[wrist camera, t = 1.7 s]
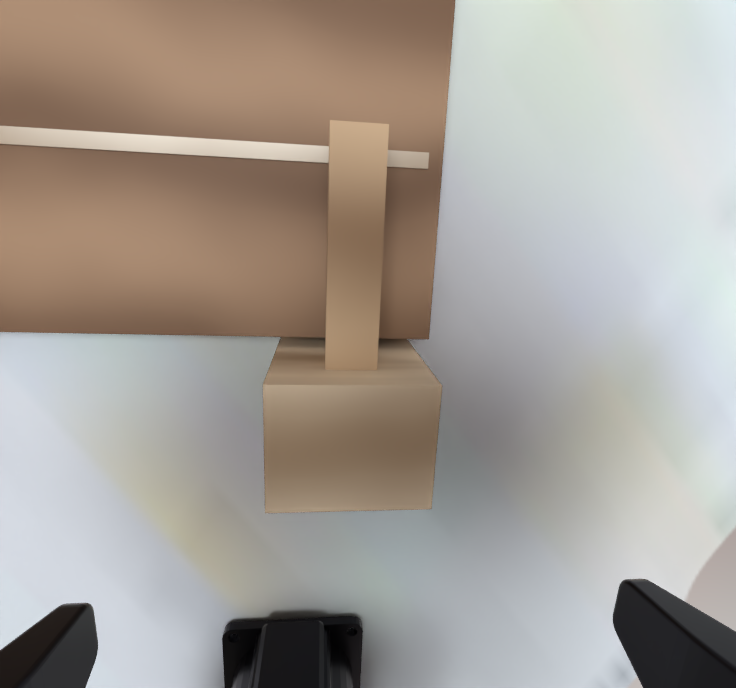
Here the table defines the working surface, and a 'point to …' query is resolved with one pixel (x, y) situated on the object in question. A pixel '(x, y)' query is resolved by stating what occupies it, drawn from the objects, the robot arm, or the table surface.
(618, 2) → the table surface
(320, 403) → the marking gauge
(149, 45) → the walnut board
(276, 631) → the robot arm
